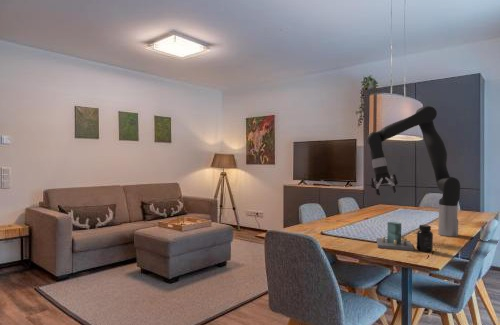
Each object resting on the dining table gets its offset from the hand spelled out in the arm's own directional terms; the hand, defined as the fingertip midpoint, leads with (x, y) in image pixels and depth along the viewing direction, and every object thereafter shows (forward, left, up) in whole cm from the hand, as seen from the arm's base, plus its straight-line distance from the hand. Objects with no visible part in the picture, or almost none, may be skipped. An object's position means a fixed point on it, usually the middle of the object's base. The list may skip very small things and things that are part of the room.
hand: (386, 194), depth 195 cm
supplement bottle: (-16, +28, -23) cm, 40 cm away
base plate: (-3, +24, -23) cm, 33 cm away
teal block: (-2, +24, -22) cm, 32 cm away
